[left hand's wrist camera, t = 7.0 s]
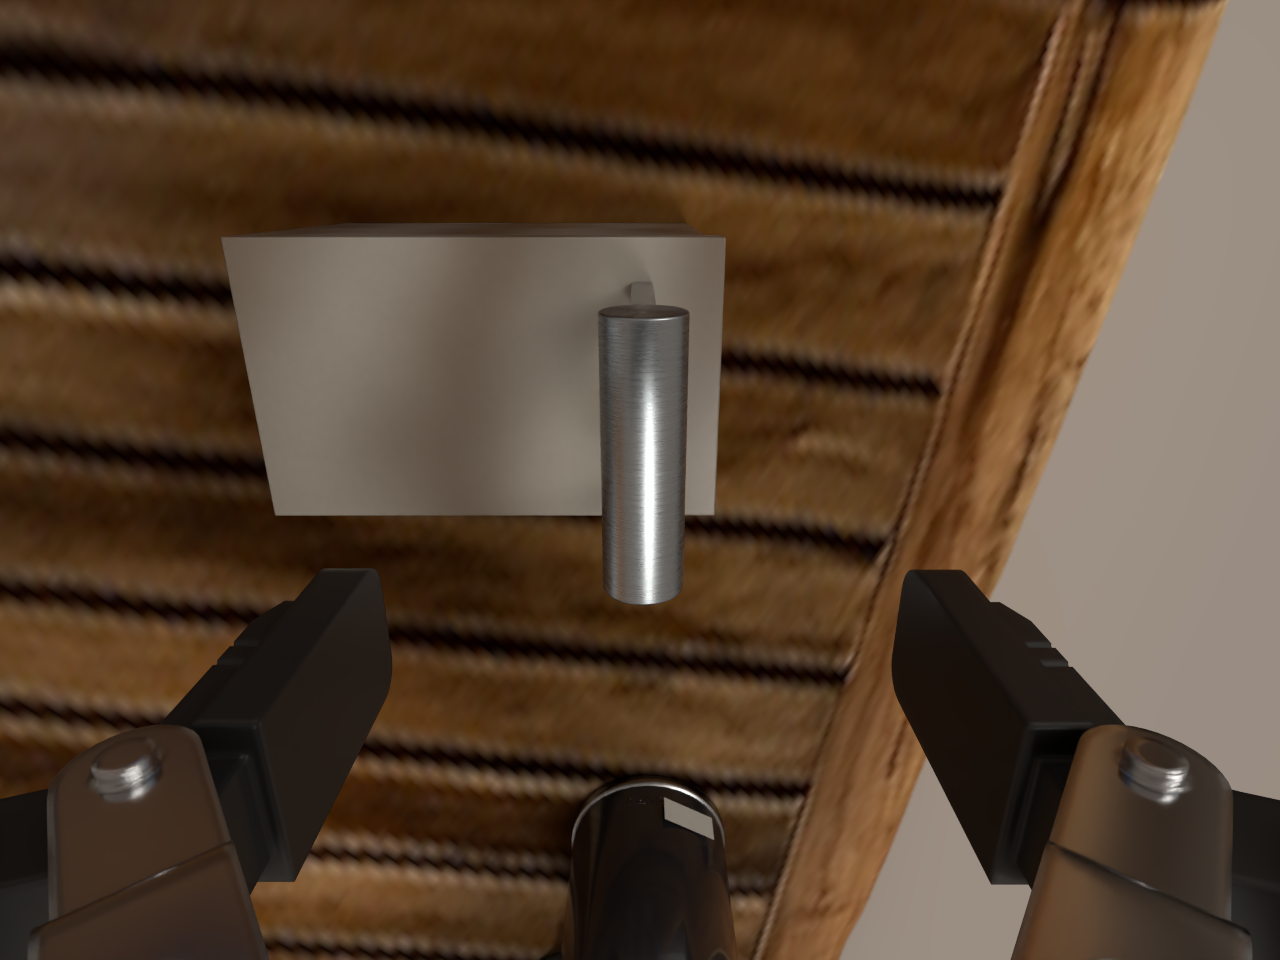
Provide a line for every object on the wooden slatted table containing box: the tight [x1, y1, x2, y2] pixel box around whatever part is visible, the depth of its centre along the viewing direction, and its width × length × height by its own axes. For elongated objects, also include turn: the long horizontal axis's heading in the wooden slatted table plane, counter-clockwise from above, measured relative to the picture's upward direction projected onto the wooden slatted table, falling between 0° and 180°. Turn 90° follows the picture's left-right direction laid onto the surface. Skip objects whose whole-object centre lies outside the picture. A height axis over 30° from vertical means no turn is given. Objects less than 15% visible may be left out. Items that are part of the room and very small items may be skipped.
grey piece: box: [221, 235, 726, 605], centre depth 22 cm, size 16×10×9 cm, turn 90°
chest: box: [245, 223, 704, 235], centre depth 31 cm, size 15×10×10 cm, turn 90°
